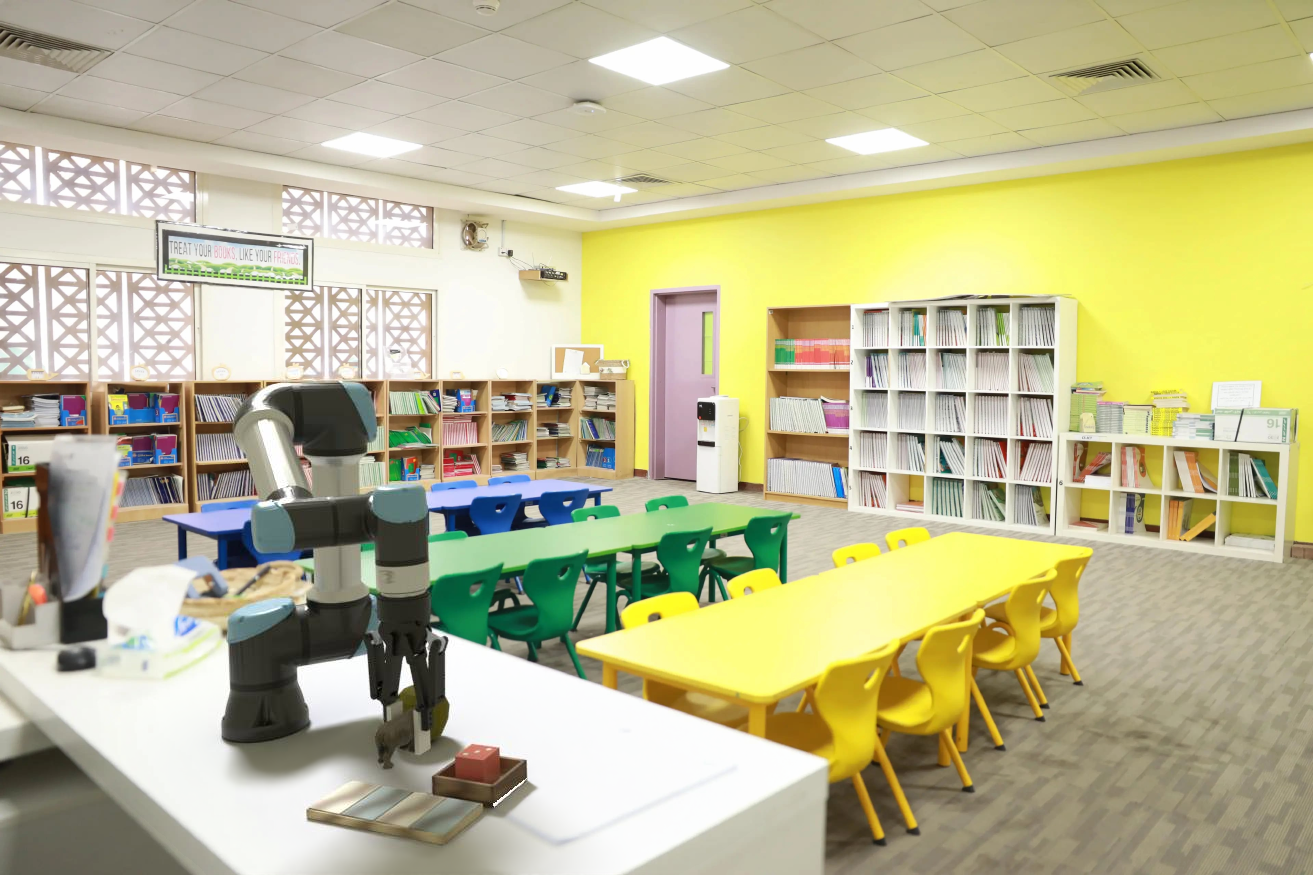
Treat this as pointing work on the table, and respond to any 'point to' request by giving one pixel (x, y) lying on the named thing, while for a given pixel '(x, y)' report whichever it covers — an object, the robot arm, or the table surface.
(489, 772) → the die
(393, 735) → the rhino figurine
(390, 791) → the board
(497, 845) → the table surface
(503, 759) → the dice tray
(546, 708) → the table surface
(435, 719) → the apple
